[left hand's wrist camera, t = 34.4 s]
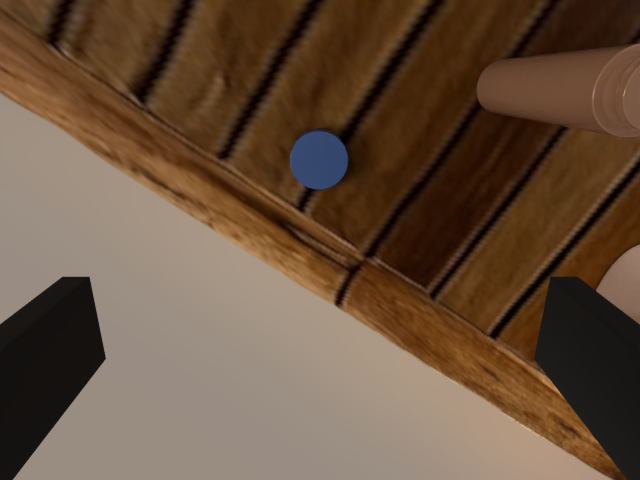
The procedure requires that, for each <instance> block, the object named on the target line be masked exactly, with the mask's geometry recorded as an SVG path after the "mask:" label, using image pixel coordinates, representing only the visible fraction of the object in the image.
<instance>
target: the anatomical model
mask: <svg viewBox="0 0 640 480" xmlns="http://www.w3.org/2000/svg"><path fill="white" fill-rule="evenodd" d="M596 291H597V292H598V293H599V294H601V295H602V296H603V297H605V298H606V299H607V300H608V301H610V302H611V303H612V304H614V305H615V306H616V307H618V308H619V309H620V310H622V311H623V312H624V313H626V314H627V315H628V316H629V317H631V318H632V319H633V320H635V321H636V322H637V323H639V324H640V245H637V246H635V247H633V248H631V249H630V250H628V251H627V252H625V253H624V254H623V255H622V256H621V257H620V258H618V259H617V261H616V262H615V263H614V264H613V265H612V266H611V268H610V269H609V270H608V271H607V273H606V274H605V276H604V277H603V279H602V281H601V282H600V284H599V286H598V288H597V289H596Z"/></svg>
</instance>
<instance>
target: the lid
mask: <svg viewBox="0 0 640 480" xmlns="http://www.w3.org/2000/svg"><path fill="white" fill-rule="evenodd" d="M348 159H349V157H348V155H347V151H346V146H345V144H343V142H342V140H341V139H340V138H339V136H337V135H336V134H334V133H332V132H330V131H329V130H324V129H318V128H317V129H314V130H310V131H308V132H307V131H306V132H305V133H304V134H303V135H301V136H300V137H299V138H297V140H296V142H295V144H294V146H293V148H292V149H291V155H290V165H291V169H292V172H293V174H294V176H295V177H296V179H297V180H298V181H299V182H300V183H302V184H303V185H305V186H307V187H309V188H312V189H326V188H329V187H332V186H334V185H335V184H337V183H338V182H339V181H340V180H341V179H342V177H343V176H344V174H345V172H346V170H347V166H348Z"/></svg>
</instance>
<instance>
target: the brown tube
mask: <svg viewBox="0 0 640 480" xmlns="http://www.w3.org/2000/svg"><path fill="white" fill-rule="evenodd" d="M477 97H478V100H479V102H480V104H481V105H482V106H483V108H485V109H486V110H487V111H489V112H491V113H495V114H501V115H506V116H511V117H517V118H522V119H527V120H533V121H538V122H543V123H548V124H554V125H559V126H564V127H570V128H575V129H580V130H586V131H591V132H596V133H602V134H607V135H612V136H617V137H636V136H640V43H636V44H627V45H619V46H610V47H602V48H593V49H584V50H576V51H567V52H559V53H550V54H542V55H533V56H525V57H516V58H508V59H501V60H497V61H495V62H493V63H491V64H490V65H489V66H488V67H487V68H485V70H484V71H483V72H482V74H481V75H480V77H479V80H478V83H477Z"/></svg>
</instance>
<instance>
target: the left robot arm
mask: <svg viewBox="0 0 640 480" xmlns="http://www.w3.org/2000/svg"><path fill="white" fill-rule="evenodd" d="M105 359H106V357H105V352H104V347H103V342H102V337H101V332H100V327H99V322H98V317H97V312H96V307H95V302H94V297H93V292H92V287H91V282H90V277H62V278H60V279H59V280H58V281H57V282H55V283H54V284H53V285H51V286H50V287H49V288H47V289H46V290H45V291H43V292H42V293H41V294H39V295H38V296H37V297H35V298H34V299H33V300H32V301H30V302H29V303H28V304H26V305H25V306H24V307H22V308H21V309H20V310H18V311H17V312H16V313H14V314H13V315H12V316H11V317H9V318H8V319H7V320H5V321H4V322H3V323H1V324H0V480H13V479H14V477H15V476H16V475H17V473H18V472H19V471H20V470H21V468H22V467H23V466H24V464H25V463H26V462H27V460H28V459H29V458H30V457H31V455H32V454H33V453H34V451H35V450H36V449H37V447H38V446H39V445H40V444H41V442H42V441H43V440H44V438H45V437H46V436H47V434H48V433H49V432H50V431H51V429H52V428H53V427H54V425H55V424H56V423H57V422H58V420H59V419H60V418H61V416H62V415H63V414H64V412H65V411H66V410H67V409H68V407H69V406H70V405H71V403H72V402H73V401H74V399H75V398H76V397H77V396H78V394H79V393H80V392H81V390H82V389H83V388H84V386H85V385H86V384H87V383H88V381H89V380H90V379H91V377H92V376H93V375H94V373H95V372H96V371H97V370H98V368H99V367H100V366H101V364H102V363H103V362H104V360H105ZM534 359H535V360H536V362H537V363H538V364H539V366H540V367H541V368H542V370H543V371H544V372H545V373H546V375H547V376H548V377H549V379H550V380H551V381H552V383H553V384H554V385H555V386H556V388H557V389H558V390H559V392H560V393H561V394H562V396H563V397H564V398H565V399H566V401H567V402H568V403H569V405H570V406H571V407H572V409H573V410H574V411H575V412H576V414H577V415H578V416H579V418H580V419H581V420H582V422H583V423H584V424H585V425H586V427H587V428H588V429H589V431H590V432H591V433H592V434H593V436H594V437H595V438H596V440H597V441H598V442H599V444H600V445H601V446H602V447H603V449H604V450H605V451H606V453H607V454H608V455H609V457H610V458H611V459H612V460H613V462H614V463H615V464H616V466H617V467H618V468H619V470H620V471H621V472H622V473H623V475H624V476H625V477H626V479H627V480H640V324H639V323H637V322H636V321H635V320H633V319H632V318H631V317H629V316H628V315H627V314H626V313H624V312H623V311H622V310H620V309H619V308H618V307H616V306H615V305H614V304H612V303H611V302H610V301H608V300H607V299H606V298H605V297H603V296H602V295H601V294H599V293H598V292H597V291H595V290H594V289H593V288H591V287H590V286H589V285H587V284H586V283H585V282H584V281H582V280H581V279H580V278H578V277H550V282H549V287H548V292H547V297H546V302H545V307H544V312H543V317H542V322H541V327H540V332H539V337H538V342H537V347H536V352H535V357H534Z"/></svg>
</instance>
